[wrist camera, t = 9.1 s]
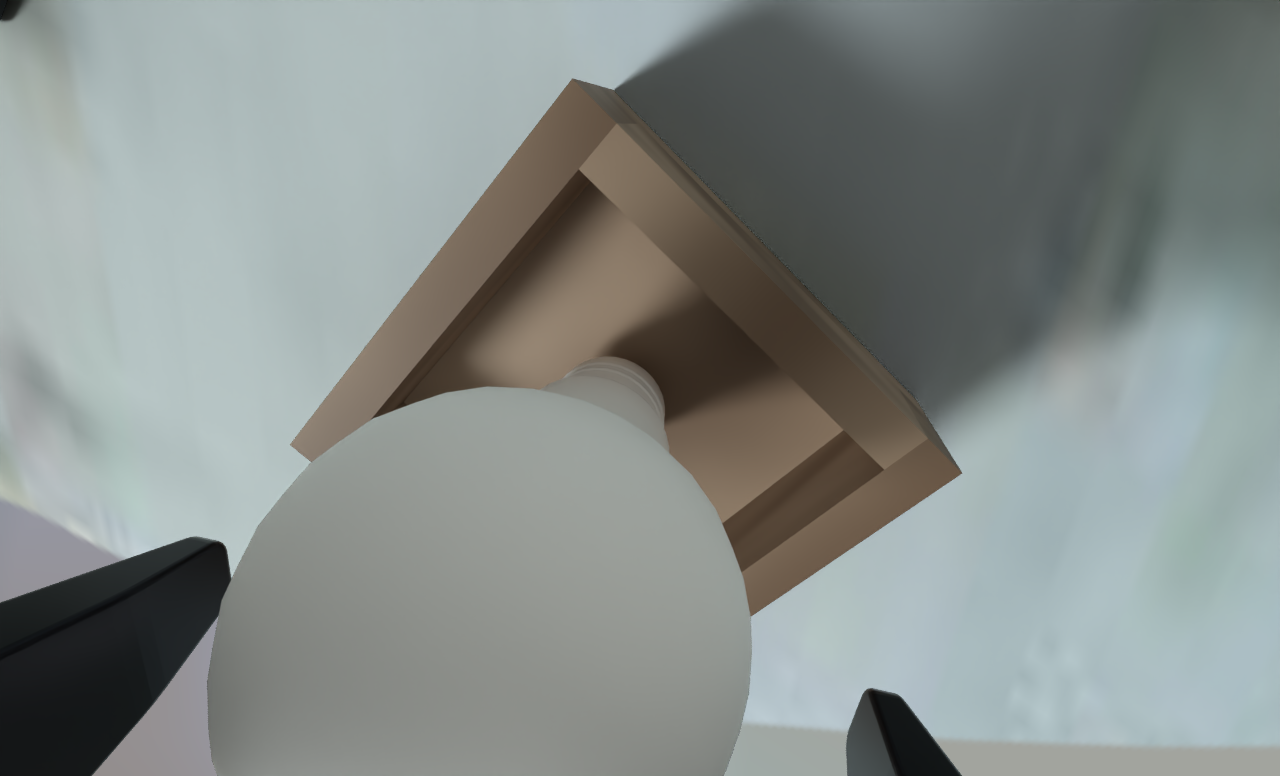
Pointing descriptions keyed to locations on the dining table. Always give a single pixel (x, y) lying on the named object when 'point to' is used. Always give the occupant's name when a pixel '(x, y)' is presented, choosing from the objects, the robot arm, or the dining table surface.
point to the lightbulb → (488, 598)
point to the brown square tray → (658, 340)
